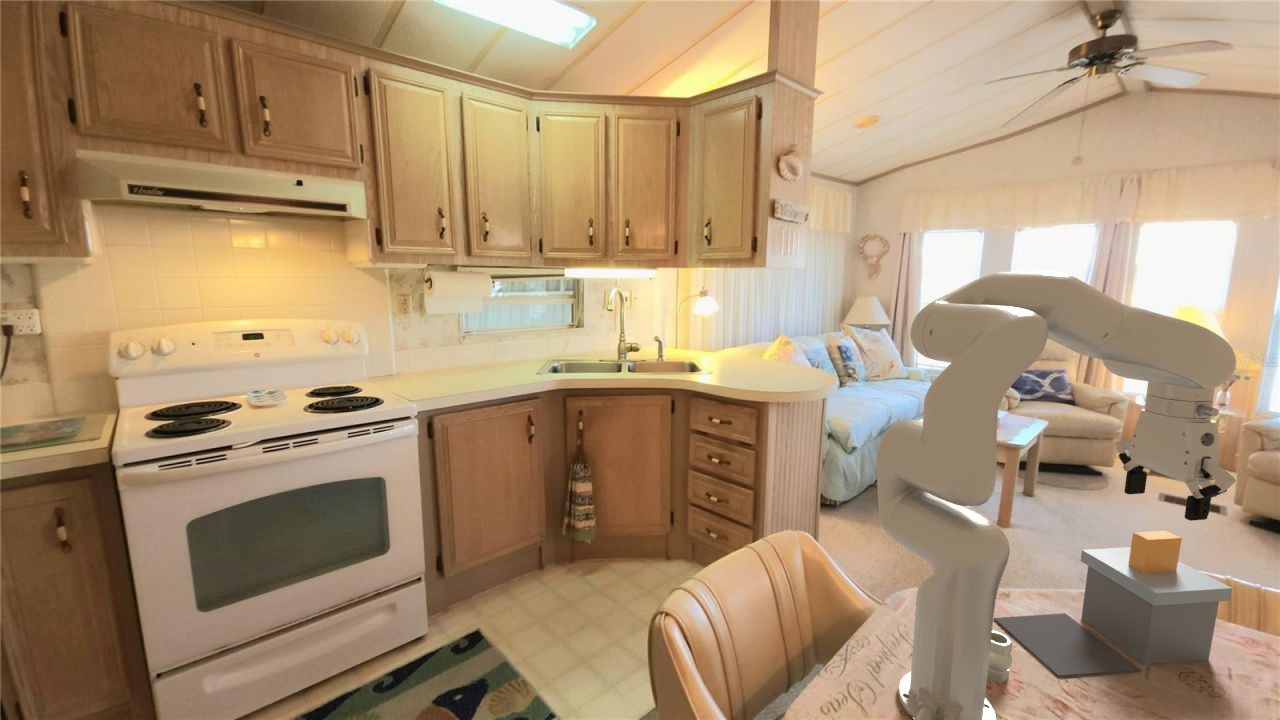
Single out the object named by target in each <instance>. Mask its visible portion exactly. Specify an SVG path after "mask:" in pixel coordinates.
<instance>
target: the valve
mask: <svg viewBox="0 0 1280 720" xmlns="http://www.w3.org/2000/svg"><path fill="white" fill-rule="evenodd" d="M1012 650H1013V642H1012V640H1011V639H1010V638H1009V637H1008V636H1007V635H1006V634H1004V633H1002V632H998V631H996V630H992V636H991V646H990V656H989V666H988V676H987V680H988V679H989V680H992V681H994V682H997V683H1000V684H1002V683H1004V682H1006V681H1008V680H1009V677H1010V668H1011V667H1012V663H1013V662H1012V661H1013V657H1012V653H1011V652H1012Z"/></svg>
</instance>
